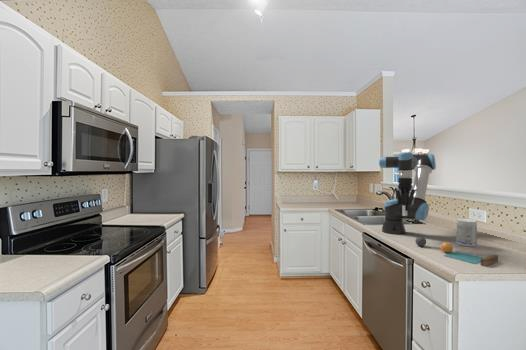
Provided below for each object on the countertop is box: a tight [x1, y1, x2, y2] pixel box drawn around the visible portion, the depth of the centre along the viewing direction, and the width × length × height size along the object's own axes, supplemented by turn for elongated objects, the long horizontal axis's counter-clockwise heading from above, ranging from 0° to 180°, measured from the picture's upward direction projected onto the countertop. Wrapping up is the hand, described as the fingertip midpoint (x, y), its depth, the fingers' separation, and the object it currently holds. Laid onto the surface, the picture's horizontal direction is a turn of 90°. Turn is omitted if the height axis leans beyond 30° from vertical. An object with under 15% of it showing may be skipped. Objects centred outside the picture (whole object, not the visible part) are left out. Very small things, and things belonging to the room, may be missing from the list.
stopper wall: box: [480, 254, 499, 267], centre depth 129 cm, size 2×13×3 cm, turn 120°
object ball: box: [440, 242, 454, 254], centre depth 146 cm, size 6×6×6 cm
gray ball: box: [415, 236, 427, 247], centre depth 158 cm, size 6×6×6 cm
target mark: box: [443, 250, 485, 265], centre depth 138 cm, size 14×14×1 cm
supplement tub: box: [456, 218, 478, 248], centre depth 160 cm, size 10×10×15 cm
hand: (404, 215), depth 166 cm, fingers closed
